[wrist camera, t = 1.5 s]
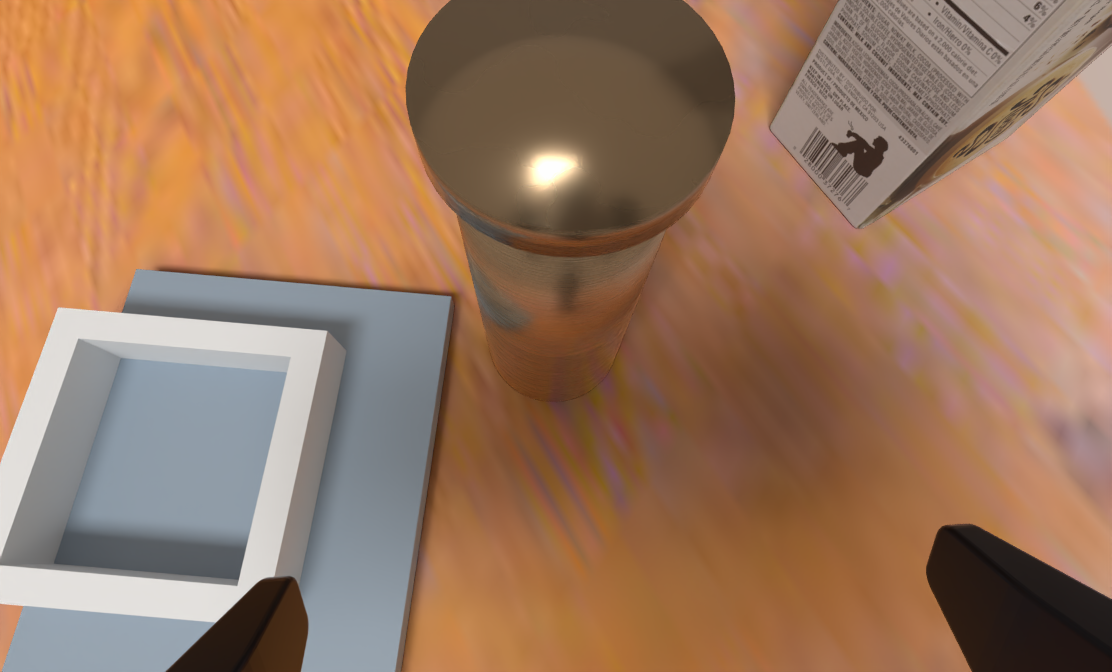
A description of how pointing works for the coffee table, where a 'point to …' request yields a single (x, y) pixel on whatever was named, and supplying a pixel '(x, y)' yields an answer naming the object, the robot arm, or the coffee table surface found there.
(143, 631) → the collar plate
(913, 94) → the cookie box
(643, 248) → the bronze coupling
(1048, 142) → the coffee table surface
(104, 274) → the coffee table surface
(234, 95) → the coffee table surface
